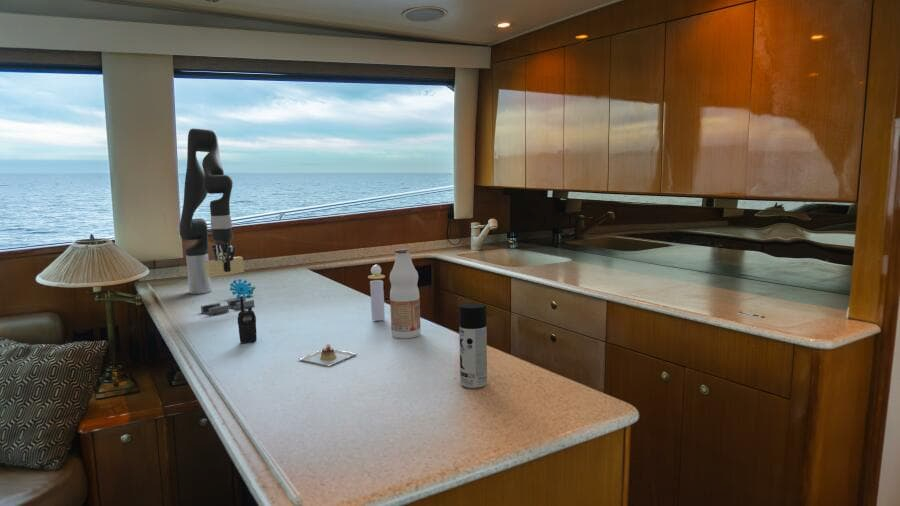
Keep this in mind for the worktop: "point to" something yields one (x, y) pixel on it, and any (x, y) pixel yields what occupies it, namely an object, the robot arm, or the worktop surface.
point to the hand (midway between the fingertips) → (225, 271)
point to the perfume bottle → (377, 294)
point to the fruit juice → (404, 297)
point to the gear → (242, 288)
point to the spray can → (473, 345)
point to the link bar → (217, 267)
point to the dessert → (327, 355)
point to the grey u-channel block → (226, 306)
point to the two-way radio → (246, 324)
